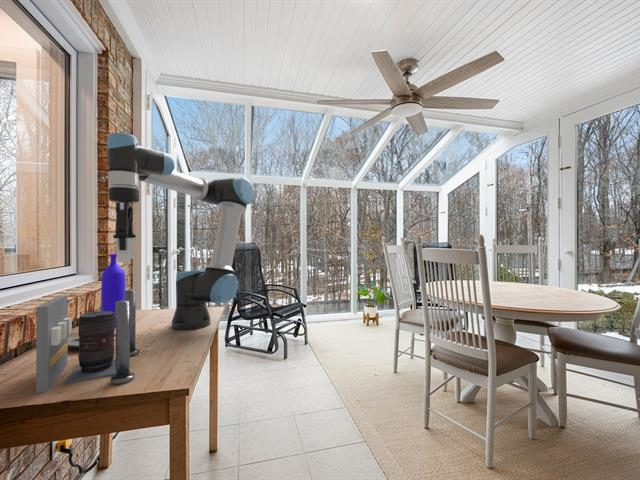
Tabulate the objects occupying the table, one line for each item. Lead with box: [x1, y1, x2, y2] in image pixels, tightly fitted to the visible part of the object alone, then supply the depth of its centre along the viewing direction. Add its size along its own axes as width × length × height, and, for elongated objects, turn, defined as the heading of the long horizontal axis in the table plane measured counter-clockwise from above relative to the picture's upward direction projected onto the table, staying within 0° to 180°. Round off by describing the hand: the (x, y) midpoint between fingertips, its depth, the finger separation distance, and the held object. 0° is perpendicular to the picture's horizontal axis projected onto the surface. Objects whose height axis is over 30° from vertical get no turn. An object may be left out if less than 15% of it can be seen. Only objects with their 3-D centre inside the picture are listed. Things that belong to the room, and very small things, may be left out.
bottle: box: [100, 253, 126, 328], centre depth 127 cm, size 8×8×30 cm
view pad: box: [64, 359, 116, 385], centre depth 82 cm, size 11×11×1 cm
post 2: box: [124, 289, 140, 358], centre depth 94 cm, size 5×5×20 cm
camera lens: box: [77, 310, 116, 373], centre depth 83 cm, size 8×8×15 cm
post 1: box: [110, 300, 135, 386], centre depth 77 cm, size 5×5×20 cm
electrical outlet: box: [67, 332, 116, 349], centre depth 103 cm, size 13×10×2 cm
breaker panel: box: [35, 294, 73, 394], centre depth 78 cm, size 3×17×20 cm, turn 28°
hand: (126, 260), depth 89 cm, fingers open, 13 cm apart
